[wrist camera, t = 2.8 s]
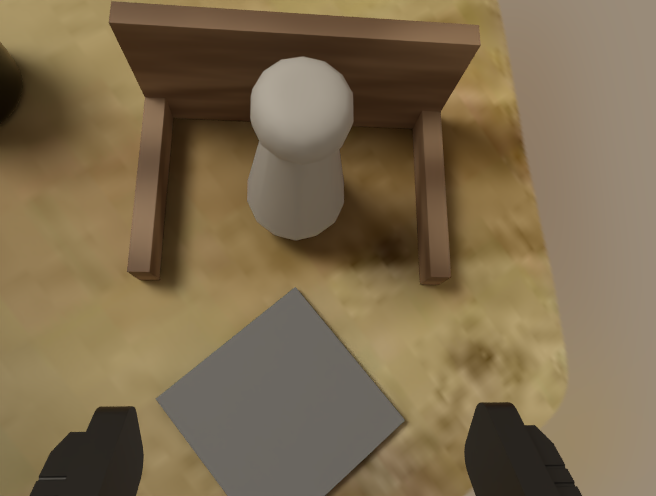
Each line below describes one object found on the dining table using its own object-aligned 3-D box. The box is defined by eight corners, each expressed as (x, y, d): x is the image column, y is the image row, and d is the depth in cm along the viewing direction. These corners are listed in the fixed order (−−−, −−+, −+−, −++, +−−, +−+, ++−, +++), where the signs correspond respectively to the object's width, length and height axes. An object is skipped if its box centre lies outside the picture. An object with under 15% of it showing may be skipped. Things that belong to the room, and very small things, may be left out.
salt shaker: (355, 227, 32) (403, 130, 19) (273, 264, 31) (268, 187, 18) (315, 150, 33) (336, 11, 20) (234, 183, 32) (205, 58, 19)
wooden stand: (438, 284, 31) (498, 249, 23) (139, 279, 30) (80, 239, 21) (428, 113, 34) (478, 25, 26) (156, 100, 33) (111, 1, 24)
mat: (268, 545, 27) (267, 549, 26) (158, 398, 28) (155, 398, 28) (402, 419, 29) (405, 420, 29) (295, 288, 30) (295, 287, 30)
